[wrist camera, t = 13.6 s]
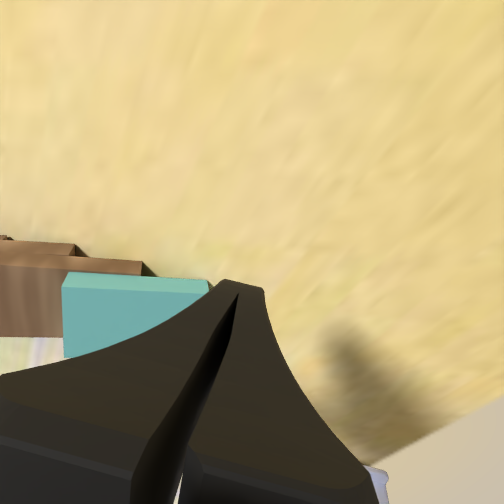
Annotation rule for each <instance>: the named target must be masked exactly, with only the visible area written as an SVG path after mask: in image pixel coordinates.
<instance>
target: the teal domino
mask: <svg viewBox="0 0 504 504" xmlns="http://www.w3.org/2000/svg"><path fill="white" fill-rule="evenodd" d="M208 291H209V289H208V283H207V280H196V279H180V278H163V277H147V276H131V275H114V274H98V273H82V272H69V273H68V274H67V276H66V278H65V280H64V282H63V284H62V286H61V292H62V317H63V342H64V358H74V357H78V356H81V355H84V354H88V353H91V352H94V351H97V350H100V349H103V348H106V347H109V346H111V345H114V344H116V343H119V342H121V341H124V340H126V339H129V338H131V337H134V336H136V335H139V334H141V333H143V332H145V331H147V330H149V329H151V328H153V327H155V326H157V325H159V324H161V323H162V322H164V321H166V320H168V319H169V318H171V317H173V316H174V315H176V314H177V313H179V312H180V311H182V310H184V309H185V308H187V307H188V306H190V305H191V304H192V303H194V302H195V301H196V300H198V299H199V298H201V297H202V296H203V295H205V294H206V293H207V292H208Z"/></svg>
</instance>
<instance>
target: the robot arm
mask: <svg viewBox="0 0 504 504" xmlns="http://www.w3.org/2000/svg"><path fill="white" fill-rule="evenodd" d="M182 473H183V476H182ZM181 476H182V482H181V488H180V494H179V500H178V504H389V501H388V496H387V491H386V486H385V485H386V483H387V481H388V475H387V472H385V471H383V470H380V469H376V468H373V467H369V466H365V465H362V464H361V463H360V462H359V461H358V460H357V458H356V457H355V456H354V455H353V454H352V453H351V452H350V451H349V450H348V449H347V448H346V447H345V445H344V444H343V443H342V442H341V441H340V440H339V439H338V438H337V437H336V436H335V434H334V433H333V432H332V431H331V429H330V428H329V427H328V426H327V424H326V423H325V422H324V421H323V419H322V418H321V417H320V416H319V414H318V413H317V412H316V410H315V409H314V407H313V406H312V404H311V403H310V401H309V400H308V399H307V397H306V396H305V394H304V393H303V391H302V390H301V388H300V386H299V385H298V383H297V381H296V380H295V378H294V376H293V374H292V373H291V371H290V369H289V367H288V365H287V363H286V361H285V359H284V357H283V355H282V353H281V350H280V348H279V345H278V343H277V341H276V338H275V335H274V333H273V330H272V327H271V323H270V320H269V317H268V313H267V309H266V304H265V296H264V290H263V289H262V288H260V287H256V286H252V285H248V284H244V283H240V282H236V281H231V280H227V279H224V280H222V281H220V282H219V283H218V284H217V285H216V286H214V287H213V288H212V289H211V290H210V291H208V292H207V293H206V294H205V295H203V296H202V297H201V298H199V299H198V300H196V301H195V302H194V303H192V304H191V305H190V306H188V307H187V308H185V309H184V310H182V311H180V312H179V313H177V314H176V315H174V316H173V317H171V318H169V319H168V320H166V321H164V322H162V323H161V324H159V325H157V326H155V327H153V328H151V329H149V330H147V331H145V332H143V333H141V334H139V335H136V336H134V337H131V338H129V339H126V340H124V341H121V342H119V343H116V344H114V345H111V346H109V347H106V348H103V349H100V350H97V351H94V352H91V353H88V354H84V355H81V356H78V357H74V358H71V359H67V360H63V361H60V362H56V363H52V364H47V365H43V366H38V367H34V368H29V369H25V370H20V371H16V372H11V373H6V374H2V375H1V376H0V504H173V502H174V499H175V496H176V493H177V489H178V486H179V483H180V480H181Z"/></svg>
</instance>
